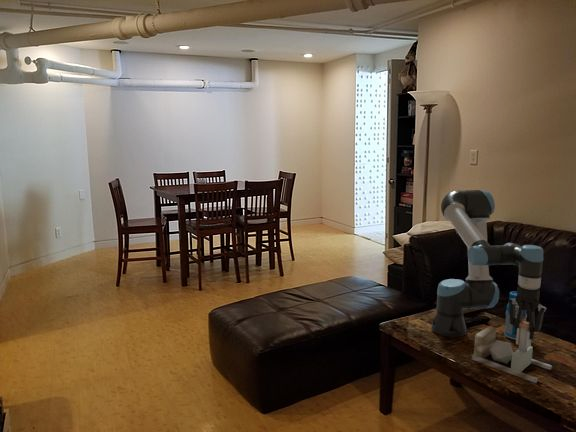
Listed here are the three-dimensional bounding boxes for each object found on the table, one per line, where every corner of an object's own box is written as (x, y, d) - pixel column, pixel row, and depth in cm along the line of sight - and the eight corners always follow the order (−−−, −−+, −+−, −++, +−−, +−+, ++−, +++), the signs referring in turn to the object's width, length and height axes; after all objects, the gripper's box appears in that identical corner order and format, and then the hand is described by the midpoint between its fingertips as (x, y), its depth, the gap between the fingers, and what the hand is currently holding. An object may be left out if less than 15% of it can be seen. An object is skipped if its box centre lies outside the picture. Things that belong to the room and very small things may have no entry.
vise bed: (471, 359, 189) (473, 335, 187) (488, 347, 199) (490, 325, 197) (535, 383, 171) (538, 357, 169) (551, 369, 181) (553, 344, 179)
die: (515, 361, 188) (505, 337, 192) (519, 360, 181) (508, 335, 184) (495, 367, 190) (485, 343, 194) (497, 366, 182) (487, 341, 186)
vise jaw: (509, 370, 180) (513, 326, 176) (522, 360, 188) (526, 317, 184) (519, 374, 177) (524, 329, 173) (532, 363, 185) (536, 320, 181)
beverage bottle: (500, 335, 211) (503, 292, 207) (509, 330, 216) (513, 289, 212) (518, 342, 204) (522, 298, 201) (528, 336, 209) (532, 294, 205)
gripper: (502, 283, 180) (497, 341, 184) (548, 294, 168) (541, 355, 172) (511, 279, 185) (506, 335, 189) (555, 289, 173) (549, 349, 177)
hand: (523, 344), depth 180 cm, fingers closed on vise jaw, 3 cm apart
